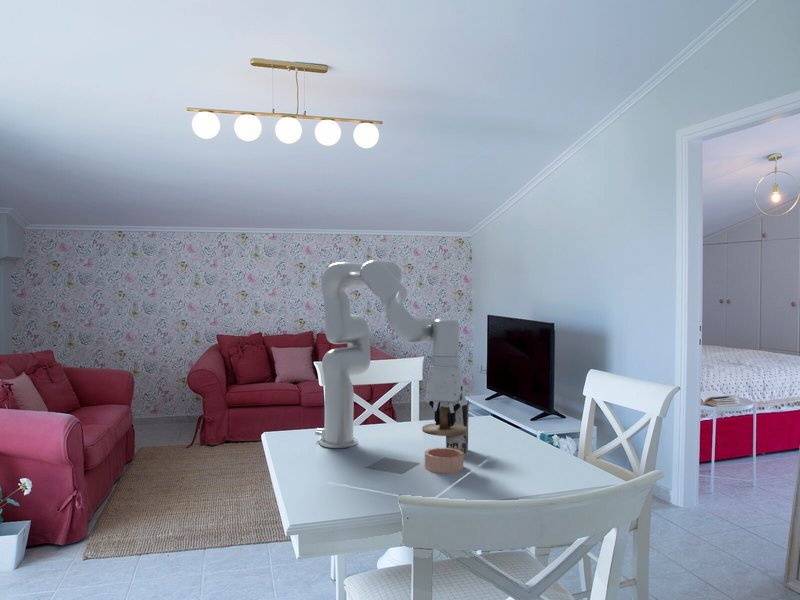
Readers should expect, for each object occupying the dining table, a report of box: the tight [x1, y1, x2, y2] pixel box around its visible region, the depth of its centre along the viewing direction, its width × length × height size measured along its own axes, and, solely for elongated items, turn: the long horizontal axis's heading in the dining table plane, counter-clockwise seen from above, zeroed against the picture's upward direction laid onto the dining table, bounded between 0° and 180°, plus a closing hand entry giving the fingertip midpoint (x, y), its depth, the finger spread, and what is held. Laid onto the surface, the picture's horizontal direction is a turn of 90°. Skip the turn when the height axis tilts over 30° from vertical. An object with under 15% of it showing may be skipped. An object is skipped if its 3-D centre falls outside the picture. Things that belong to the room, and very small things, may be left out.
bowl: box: [423, 447, 465, 474], centre depth 182 cm, size 11×11×4 cm
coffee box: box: [445, 399, 470, 457], centre depth 199 cm, size 9×6×16 cm
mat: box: [364, 457, 421, 475], centre depth 182 cm, size 12×12×1 cm
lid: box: [421, 405, 467, 437], centre depth 181 cm, size 13×13×7 cm
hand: (444, 424), depth 181 cm, fingers closed on lid, 3 cm apart
